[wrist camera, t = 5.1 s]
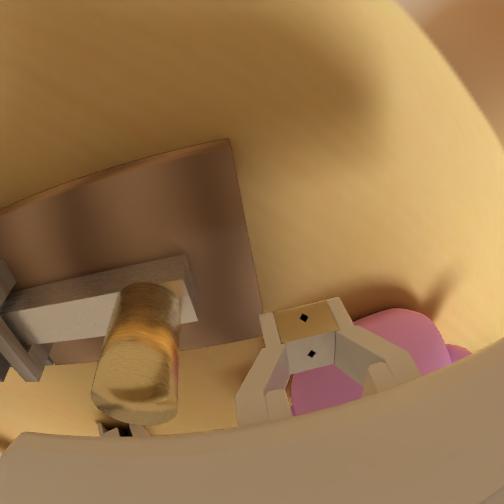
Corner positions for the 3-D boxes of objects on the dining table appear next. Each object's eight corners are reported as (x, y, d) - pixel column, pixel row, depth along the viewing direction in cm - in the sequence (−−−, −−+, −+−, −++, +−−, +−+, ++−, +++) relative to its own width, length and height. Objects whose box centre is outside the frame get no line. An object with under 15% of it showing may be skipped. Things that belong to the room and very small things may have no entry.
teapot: (455, 349, 27) (504, 429, 18) (280, 425, 29) (301, 521, 20) (468, 251, 20) (559, 349, 11) (225, 355, 22) (242, 504, 13)
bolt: (183, 248, 14) (173, 373, 8) (199, 297, 16) (202, 420, 10) (-1, 290, 14) (-52, 379, 8) (23, 327, 16) (-15, 417, 10)
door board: (228, 138, 14) (238, 170, 10) (262, 312, 20) (277, 380, 15) (-63, 240, 14) (-103, 283, 9) (5, 350, 20) (-16, 399, 15)
